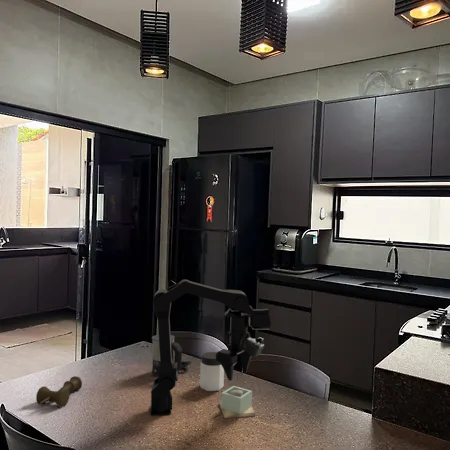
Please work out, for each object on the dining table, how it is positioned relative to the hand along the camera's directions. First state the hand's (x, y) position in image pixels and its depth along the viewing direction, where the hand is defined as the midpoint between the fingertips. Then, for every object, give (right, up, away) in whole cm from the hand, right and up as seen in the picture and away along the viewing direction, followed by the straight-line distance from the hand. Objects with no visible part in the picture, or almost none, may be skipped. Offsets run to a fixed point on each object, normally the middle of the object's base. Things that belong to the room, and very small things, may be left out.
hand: (237, 376), depth 143 cm
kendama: (-61, -10, +5) cm, 62 cm away
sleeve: (0, -10, 0) cm, 10 cm away
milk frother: (-26, -10, +34) cm, 44 cm away
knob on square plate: (0, -11, 0) cm, 11 cm away
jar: (-9, -11, +19) cm, 24 cm away
